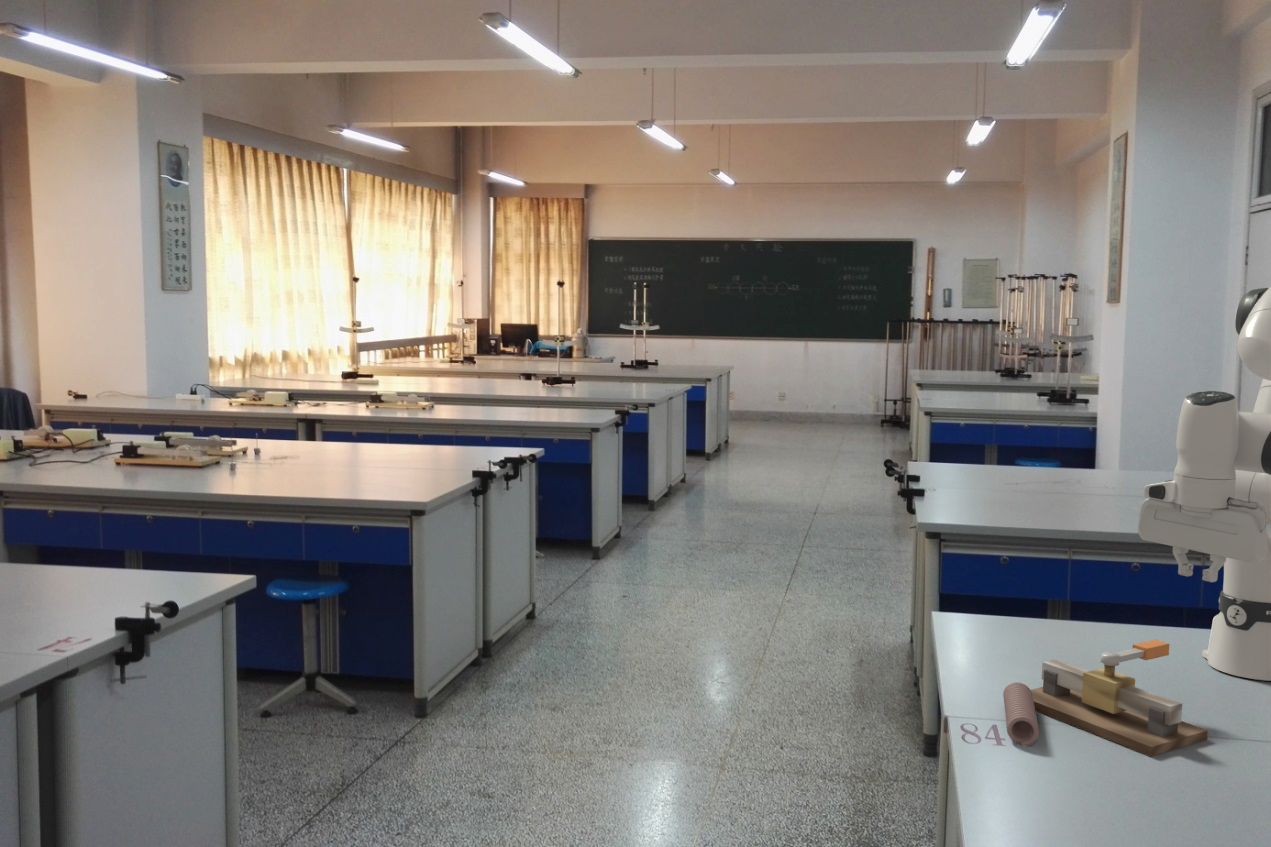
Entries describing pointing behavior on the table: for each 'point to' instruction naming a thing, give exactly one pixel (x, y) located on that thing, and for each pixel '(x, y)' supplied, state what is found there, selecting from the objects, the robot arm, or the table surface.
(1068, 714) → the valve stand
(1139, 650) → the valve lever
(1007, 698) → the coil
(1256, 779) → the table surface
